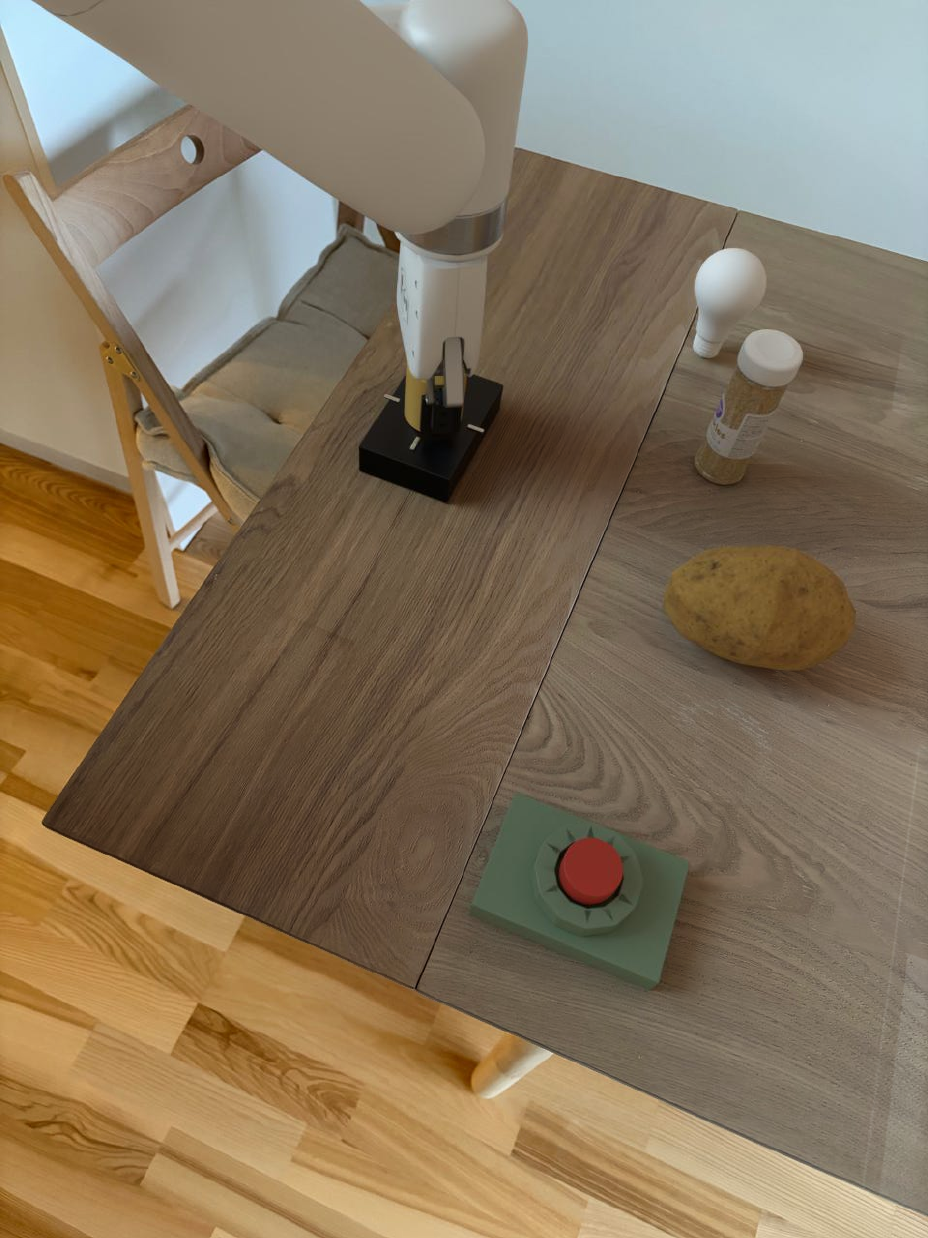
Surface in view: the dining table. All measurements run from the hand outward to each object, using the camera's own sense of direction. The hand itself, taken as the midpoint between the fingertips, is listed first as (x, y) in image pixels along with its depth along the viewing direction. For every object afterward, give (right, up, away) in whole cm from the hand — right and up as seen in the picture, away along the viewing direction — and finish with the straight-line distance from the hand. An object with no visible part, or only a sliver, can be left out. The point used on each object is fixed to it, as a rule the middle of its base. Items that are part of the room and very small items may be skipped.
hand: (434, 405), depth 77 cm
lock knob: (0, -1, +1) cm, 1 cm away
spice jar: (+25, -4, +5) cm, 25 cm away
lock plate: (0, -2, +3) cm, 4 cm away
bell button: (+10, -33, -20) cm, 40 cm away
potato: (+24, -19, -5) cm, 31 cm away
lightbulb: (+25, +8, +12) cm, 29 cm away
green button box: (+10, -35, -17) cm, 40 cm away
